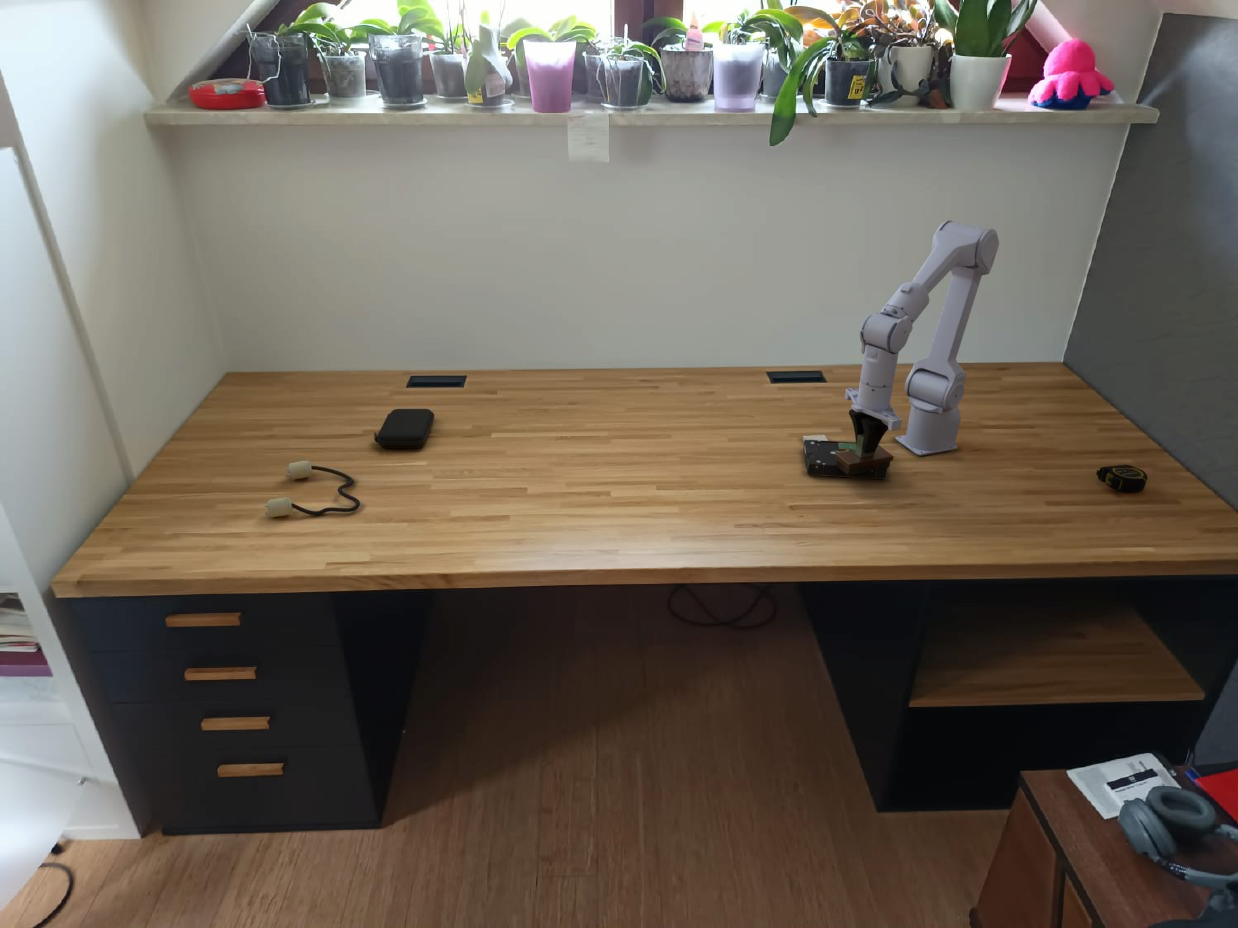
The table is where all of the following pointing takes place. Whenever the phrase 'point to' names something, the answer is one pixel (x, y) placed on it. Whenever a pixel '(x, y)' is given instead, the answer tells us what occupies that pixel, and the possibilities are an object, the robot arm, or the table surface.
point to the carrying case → (405, 428)
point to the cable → (301, 471)
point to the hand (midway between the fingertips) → (865, 449)
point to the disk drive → (832, 459)
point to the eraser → (815, 437)
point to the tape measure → (1123, 478)
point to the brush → (863, 459)
